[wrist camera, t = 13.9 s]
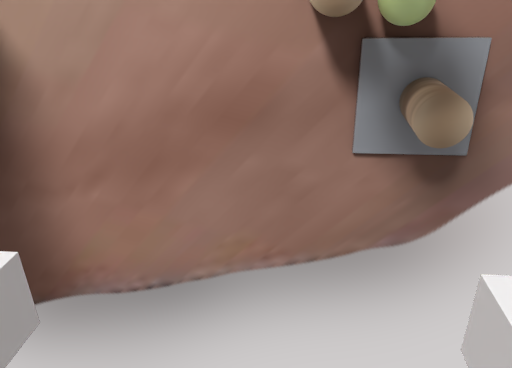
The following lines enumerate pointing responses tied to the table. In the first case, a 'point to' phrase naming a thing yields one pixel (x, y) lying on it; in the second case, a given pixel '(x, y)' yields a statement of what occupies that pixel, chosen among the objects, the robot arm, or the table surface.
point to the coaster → (402, 74)
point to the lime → (405, 10)
